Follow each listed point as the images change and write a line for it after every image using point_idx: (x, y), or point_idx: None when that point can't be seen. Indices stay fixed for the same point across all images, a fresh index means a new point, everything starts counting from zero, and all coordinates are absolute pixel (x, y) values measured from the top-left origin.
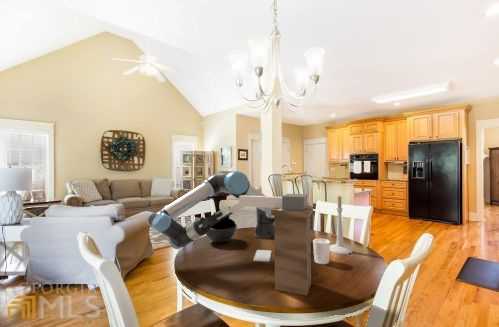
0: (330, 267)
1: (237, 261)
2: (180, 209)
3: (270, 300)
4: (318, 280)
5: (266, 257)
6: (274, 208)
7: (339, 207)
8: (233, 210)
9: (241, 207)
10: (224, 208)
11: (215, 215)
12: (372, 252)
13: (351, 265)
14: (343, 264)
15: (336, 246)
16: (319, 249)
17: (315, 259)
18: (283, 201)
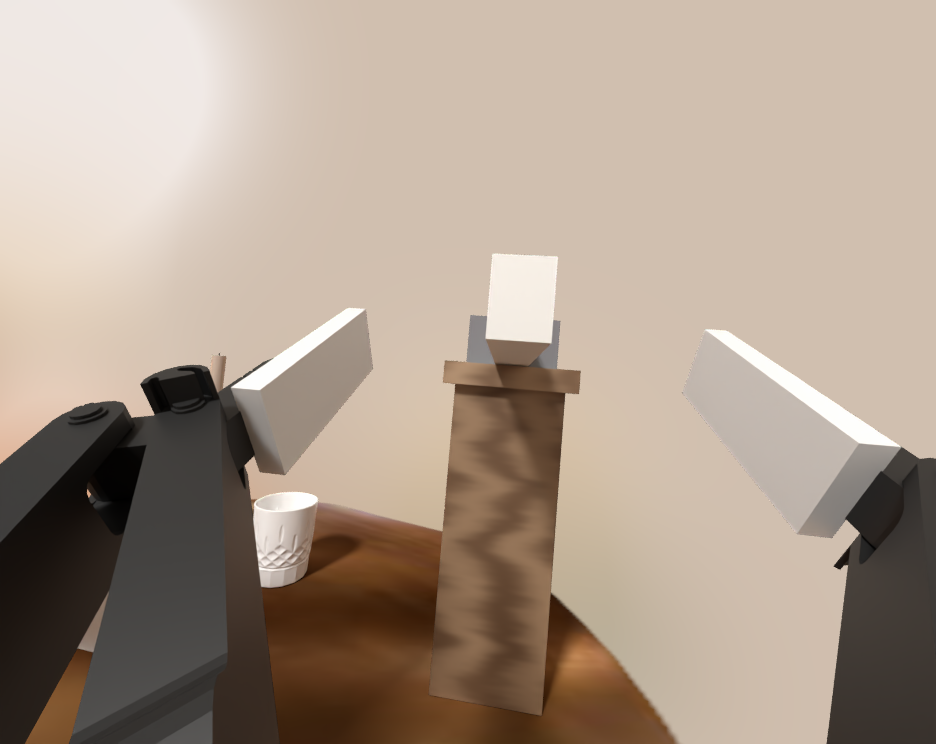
0: (334, 564)
1: None
2: None
3: (631, 727)
4: (427, 594)
5: None
6: (539, 368)
7: (220, 390)
8: (306, 418)
9: (364, 372)
10: (749, 351)
11: (909, 463)
12: (255, 499)
13: (328, 534)
14: (318, 542)
15: None
16: (307, 528)
17: (283, 576)
18: (558, 340)
